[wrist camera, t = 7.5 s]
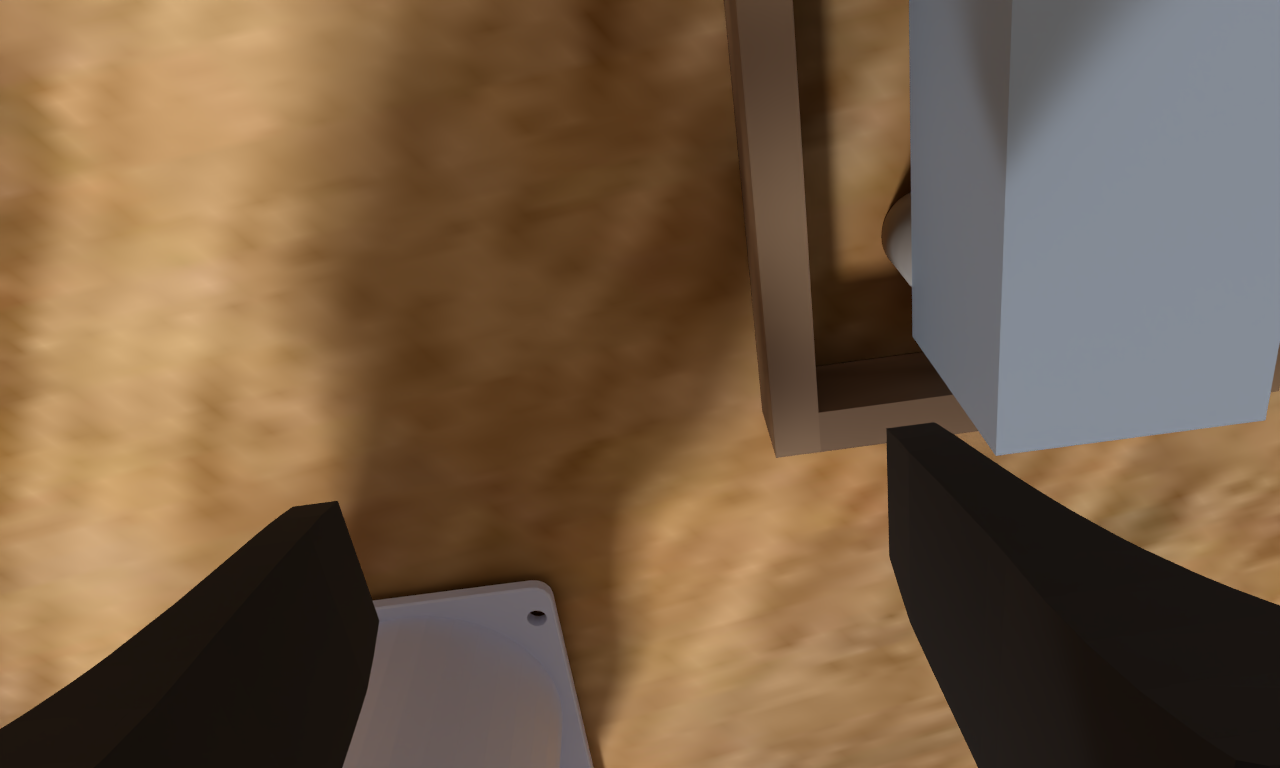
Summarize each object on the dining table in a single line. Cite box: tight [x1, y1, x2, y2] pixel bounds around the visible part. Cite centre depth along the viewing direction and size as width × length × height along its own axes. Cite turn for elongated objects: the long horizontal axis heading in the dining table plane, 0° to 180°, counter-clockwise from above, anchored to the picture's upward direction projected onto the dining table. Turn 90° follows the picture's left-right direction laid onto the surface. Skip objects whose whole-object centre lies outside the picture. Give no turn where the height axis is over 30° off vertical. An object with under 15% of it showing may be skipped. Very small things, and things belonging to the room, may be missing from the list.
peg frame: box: [724, 0, 1280, 458], centre depth 18 cm, size 16×11×2 cm
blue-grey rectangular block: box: [909, 0, 1280, 456], centre depth 15 cm, size 12×4×5 cm, turn 8°
